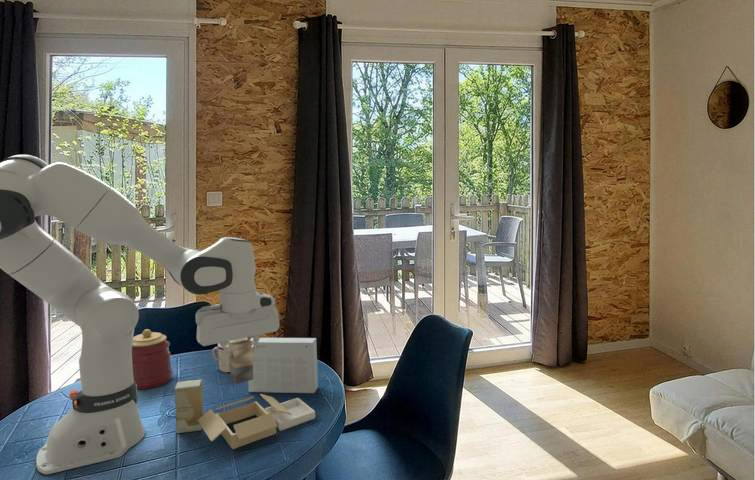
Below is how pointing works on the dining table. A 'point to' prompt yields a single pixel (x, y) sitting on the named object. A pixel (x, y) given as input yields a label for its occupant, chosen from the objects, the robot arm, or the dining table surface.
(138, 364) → the canister
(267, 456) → the dining table surface
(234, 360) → the chunky box
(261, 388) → the skincare box
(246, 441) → the carton
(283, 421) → the tray
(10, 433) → the dining table surface
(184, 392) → the skincare box
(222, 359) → the teacup with lid
